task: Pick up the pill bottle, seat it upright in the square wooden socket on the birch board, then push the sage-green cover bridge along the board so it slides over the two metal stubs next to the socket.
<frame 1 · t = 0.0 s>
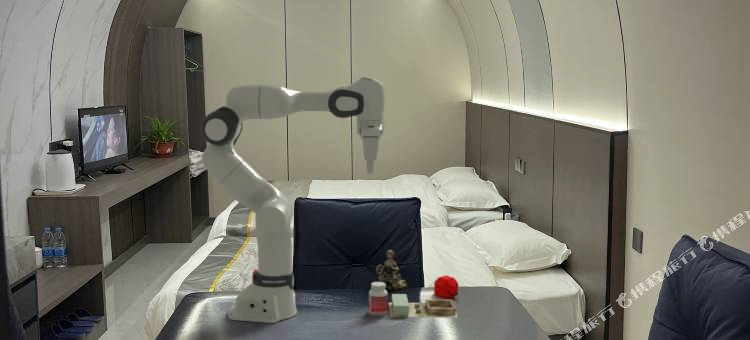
hand: (369, 171, 218), 48 cm above the table, fingers open, 8 cm apart
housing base: (422, 313, 226), on the table
pill bottle: (377, 316, 223), on the table
figurine: (391, 290, 251), on the table
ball: (445, 298, 242), on the table
housing cover: (400, 304, 225), point 3 cm above the table, slide at 0.0 cm
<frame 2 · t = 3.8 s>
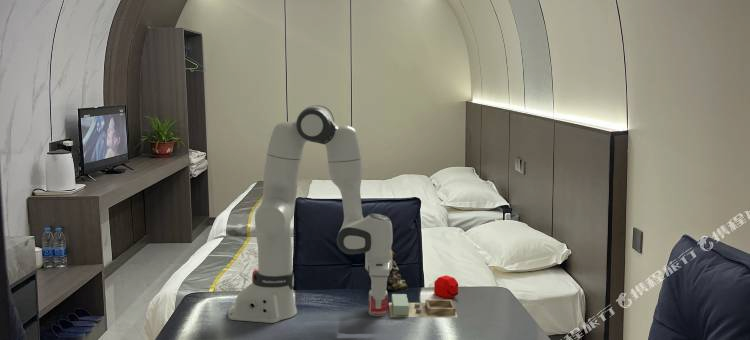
hand: (377, 304, 222), 4 cm above the table, fingers closed on pill bottle, 6 cm apart
pill bottle: (377, 316, 223), on the table, touching gripper
everything else where it was.
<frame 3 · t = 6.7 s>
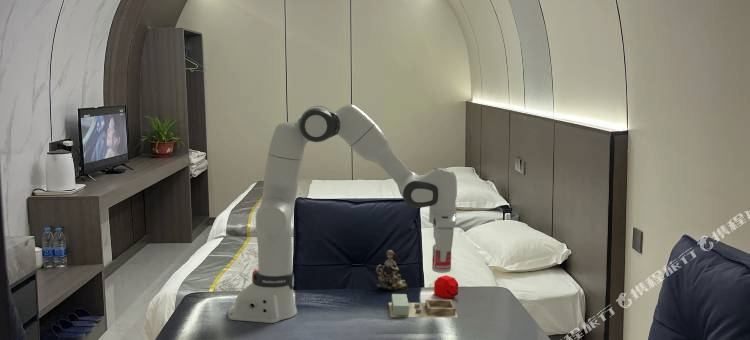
hand: (441, 257, 223), 19 cm above the table, fingers closed on pill bottle, 6 cm apart
pill bottle: (441, 271, 224), point 15 cm above the table, touching gripper
everything else where it was.
when the fingers open (6 cm above the table, at t = 9.9 s): pill bottle stays where it is, resting on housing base.
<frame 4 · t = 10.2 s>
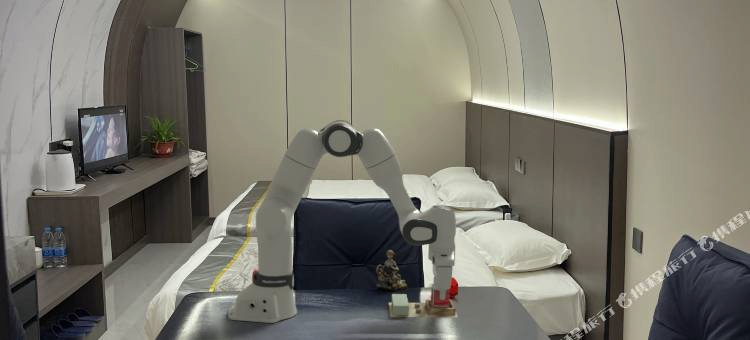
hand: (440, 294, 225), 7 cm above the table, fingers open, 8 cm apart
pill bottle: (439, 310, 226), point 1 cm above the table, touching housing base
everything else where it was.
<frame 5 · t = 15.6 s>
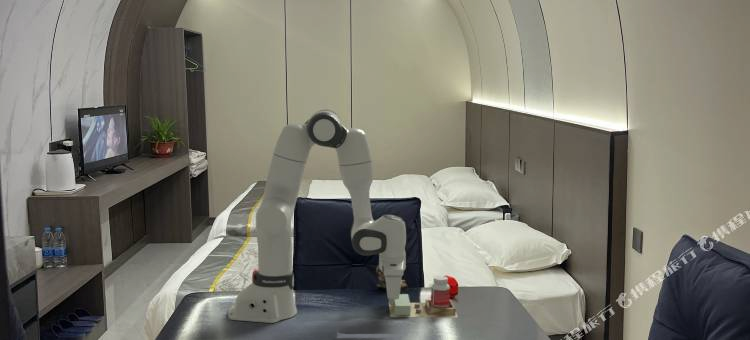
hand: (391, 303, 225), 3 cm above the table, fingers closed, pressing on housing cover
housing cover: (401, 304, 225), point 3 cm above the table, slide at 0.6 cm, touching gripper
everything else where it was.
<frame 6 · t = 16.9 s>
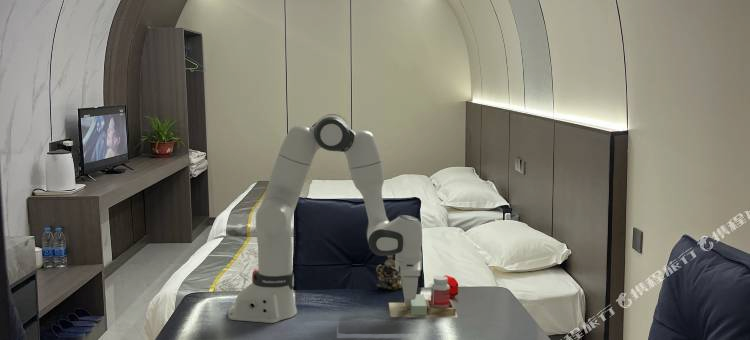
hand: (407, 304, 225), 3 cm above the table, fingers closed, pressing on housing cover
housing cover: (417, 304, 226), point 3 cm above the table, slide at 5.9 cm, touching gripper
everything else where it was.
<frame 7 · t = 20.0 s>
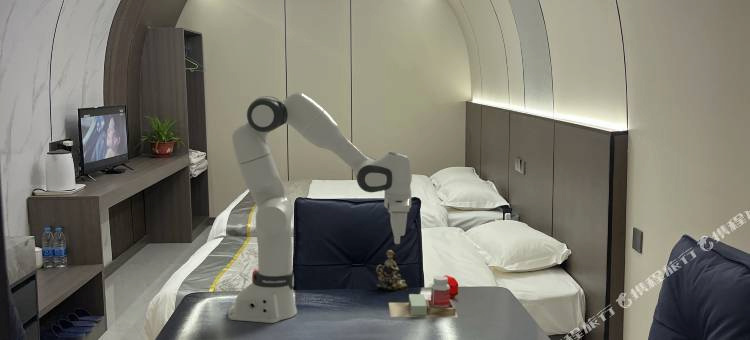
hand: (396, 242, 222), 24 cm above the table, fingers closed
housing cover: (417, 304, 226), point 3 cm above the table, slide at 5.9 cm
everything else where it was.
at the end: pill bottle 0.2 cm from the target spot on the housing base, point 1.0 cm above the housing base's base; pill bottle tilted 0°; housing cover slide at 5.9 cm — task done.
